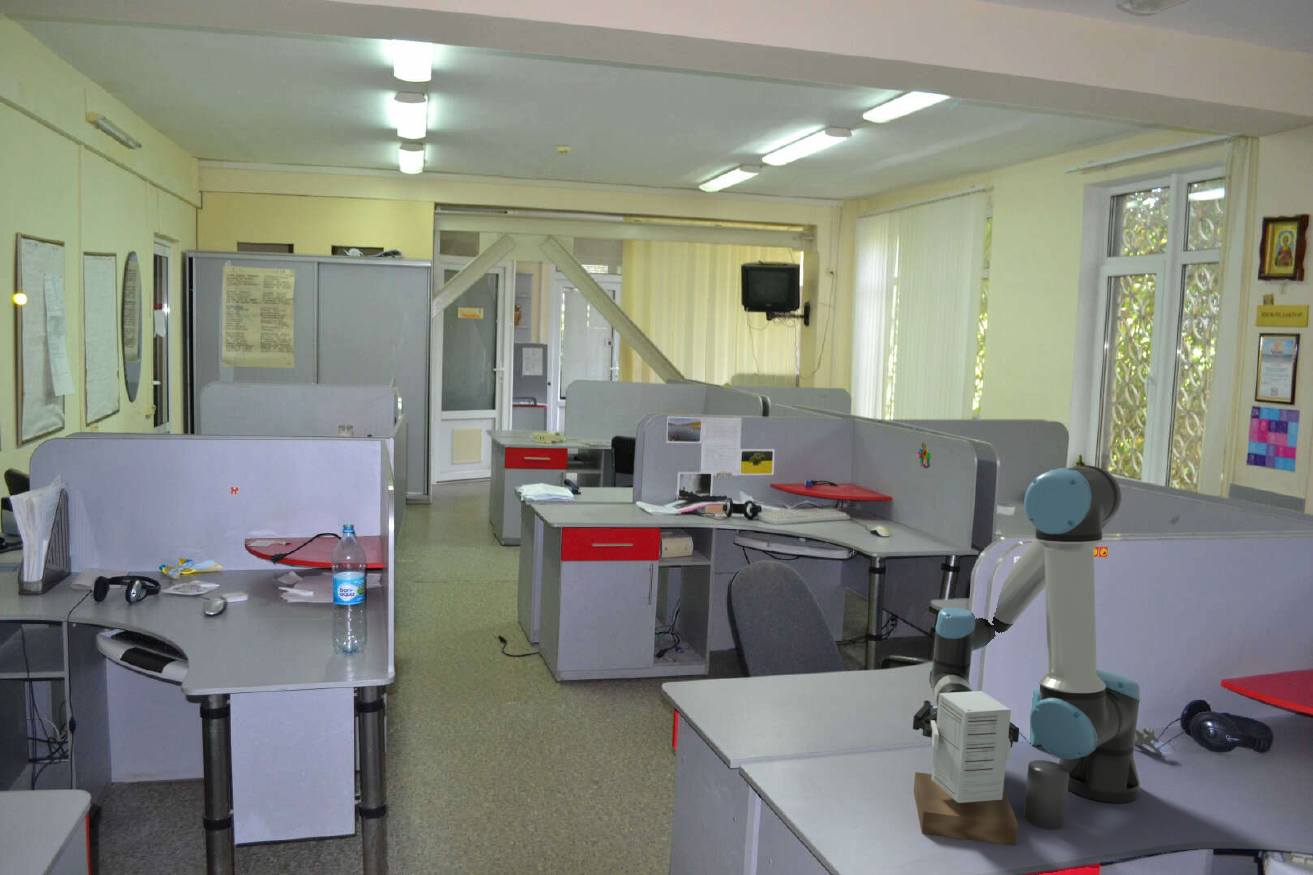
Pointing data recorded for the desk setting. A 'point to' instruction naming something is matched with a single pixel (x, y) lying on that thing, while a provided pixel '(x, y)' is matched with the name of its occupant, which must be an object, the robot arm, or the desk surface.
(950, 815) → the podium
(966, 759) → the supplement box
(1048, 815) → the dark grey cylinder
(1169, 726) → the desk surface
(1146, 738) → the pale grey branched piece
